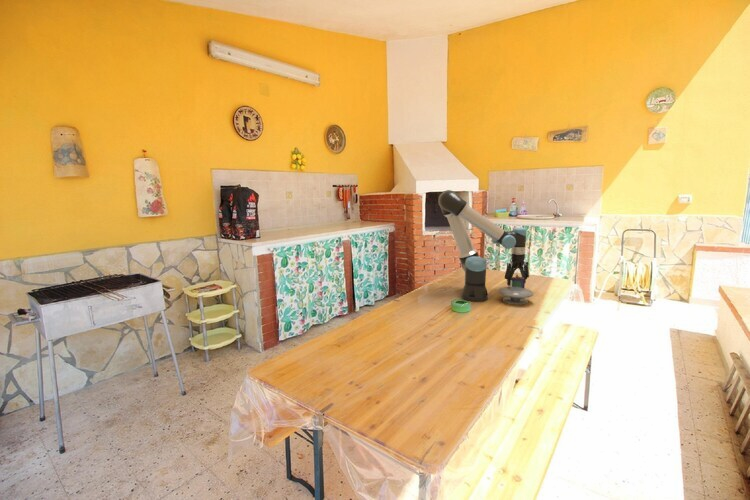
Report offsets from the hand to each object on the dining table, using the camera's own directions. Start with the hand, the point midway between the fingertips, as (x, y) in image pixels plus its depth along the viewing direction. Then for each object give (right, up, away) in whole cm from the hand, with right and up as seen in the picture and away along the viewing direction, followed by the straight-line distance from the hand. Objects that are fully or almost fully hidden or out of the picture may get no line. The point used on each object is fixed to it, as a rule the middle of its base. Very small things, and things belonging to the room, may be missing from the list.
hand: (516, 289), depth 219 cm
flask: (0, -2, 0) cm, 2 cm away
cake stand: (-7, -5, -17) cm, 19 cm away
